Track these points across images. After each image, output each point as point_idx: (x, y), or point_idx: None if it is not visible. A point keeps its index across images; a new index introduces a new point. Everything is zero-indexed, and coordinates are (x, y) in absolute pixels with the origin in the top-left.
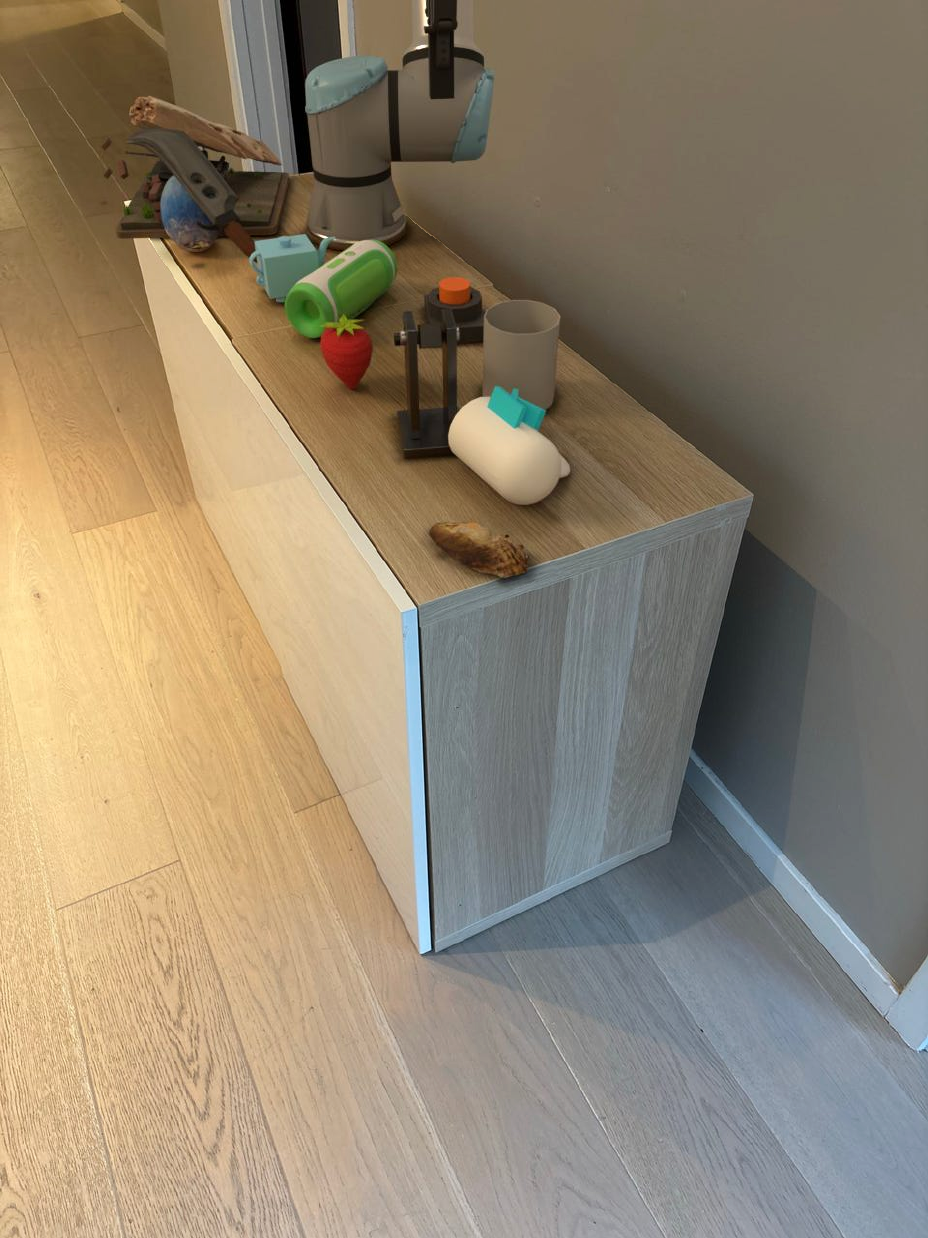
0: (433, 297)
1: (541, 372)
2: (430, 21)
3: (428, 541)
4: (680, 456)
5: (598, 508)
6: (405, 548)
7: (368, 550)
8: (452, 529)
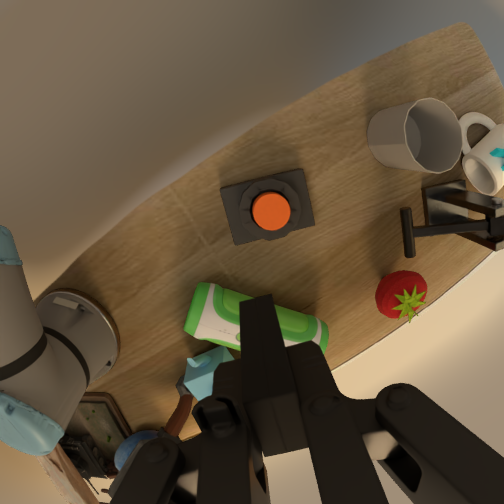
0: (275, 233)
1: (433, 120)
2: (266, 470)
3: None
4: (443, 36)
5: (492, 102)
6: None
7: None
8: None
